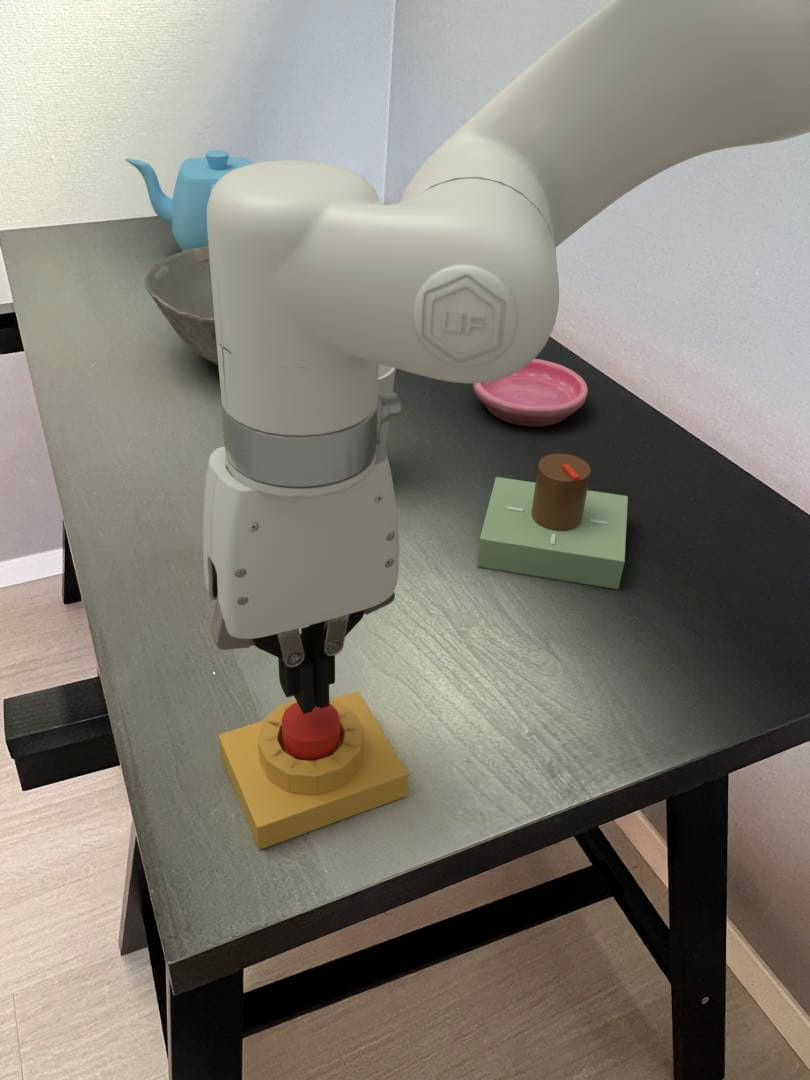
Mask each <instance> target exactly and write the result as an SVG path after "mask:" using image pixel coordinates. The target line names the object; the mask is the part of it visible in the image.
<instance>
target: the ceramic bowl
mask: <svg viewBox="0 0 810 1080" xmlns="http://www.w3.org/2000/svg"><path fill="white" fill-rule="evenodd" d="M144 287H145V289H146V291H147V292H148V293H149V295H150V297H151V298H152V300H153V301H154V302H155V304H156V305H157V307H158V309H159V310H160V312H161V314H162V315H163V316H164V317H165V319H166V320H167V322H169V324H170V326H171V327H172V329H173V331H175V333H176V334H177V335H178V336H179V338H180V339H181V340H182V342H184V343H185V344H186V345H187V346H188V348H190V349H191V350H192V351H193V352H194V353H195V354H197V355H199V356H200V357H202V358H204V359H205V360H207V361H208V362H211V363H213V364H214V365H217V366H218V355H217V343H216V332H215V320H214V307H213V295H212V282H211V270H210V257H209V246H205V247H202V248H196V249H194V248H192V249H188V250H185V251H182V250H181V251H180V252H176V253H175V254H171V255H169V256H168V257H166V258H164V259H162V260H161V261H159V262H157V263H155V264H154V265H152V266H151V268H149V269H148V271H147V272H146V274H145V277H144Z"/></svg>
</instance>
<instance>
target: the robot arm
mask: <svg viewBox="0 0 810 1080" xmlns="http://www.w3.org/2000/svg"><path fill="white" fill-rule="evenodd" d="M809 133H810V0H611V1H609V2H608V3H606V4H605V5H604V6H603V7H601V8H600V9H599V10H598V11H597V12H595V13H594V14H593V15H591V16H590V17H589V18H587V19H586V20H585V21H583V22H582V23H581V24H580V25H578V26H576V28H575V29H573V30H572V31H571V32H570V33H568V34H567V35H565V36H564V37H563V38H562V39H560V40H559V41H558V42H557V43H556V44H554V45H553V46H552V47H551V48H550V49H548V50H547V51H546V52H545V53H544V54H542V55H541V56H540V57H539V58H538V59H536V61H534V62H533V63H532V64H531V65H529V67H527V68H526V69H525V70H524V71H522V73H520V74H519V75H518V76H517V77H516V78H514V79H513V81H511V82H510V83H509V84H508V85H507V86H506V87H505V88H504V89H502V90H501V91H500V92H498V93H497V94H496V95H495V96H494V97H493V98H492V99H491V100H490V101H489V102H488V103H486V104H485V105H484V106H483V107H482V108H481V109H480V110H479V111H478V112H476V113H475V115H473V116H472V117H471V118H470V119H469V120H468V121H466V122H465V123H464V124H463V125H462V126H461V127H460V128H459V129H458V130H456V131H455V132H454V133H453V134H452V135H451V136H450V137H448V139H447V140H445V142H443V143H442V144H441V145H440V146H439V147H438V148H437V149H436V150H435V151H434V152H433V154H431V155H430V156H429V157H428V159H426V160H425V162H423V164H422V165H421V166H420V167H419V169H417V171H416V172H415V174H414V176H413V177H412V178H411V179H410V181H409V183H408V184H407V187H406V188H405V190H404V193H403V195H402V197H401V200H400V202H398V203H394V204H383V203H382V202H381V200H380V197H379V195H378V193H377V191H376V190H375V187H373V185H372V184H371V183H370V181H368V180H367V179H366V178H364V177H363V176H362V175H361V174H359V173H358V172H356V171H353V170H351V169H348V168H345V167H343V166H338V165H336V164H331V163H327V162H321V161H312V160H300V159H299V160H298V159H283V160H268V161H260V162H255V163H253V164H251V165H247V166H244V167H240V168H237V169H235V170H232V171H230V172H229V173H227V174H226V175H224V176H223V177H222V178H221V179H220V180H219V181H218V182H217V183H216V184H215V186H214V187H213V189H212V191H211V194H210V197H209V200H208V205H207V233H208V245H209V257H210V270H211V282H212V295H213V307H214V320H215V332H216V343H217V355H218V365H217V366H218V375H219V376H218V377H219V386H220V387H219V388H220V398H221V402H220V406H221V419H222V430H223V442H224V446H220V447H217V448H215V449H214V450H212V452H211V454H210V455H209V458H208V464H207V469H206V475H205V482H204V491H203V492H204V494H203V512H202V558H203V559H202V560H203V576H204V583H205V588H206V591H207V594H208V597H209V599H210V601H215V600H216V602H215V606H214V611H213V615H212V621H211V626H210V635H211V637H212V639H213V641H214V643H215V645H216V647H217V648H218V649H219V650H220V651H221V650H222V651H227V650H239V649H240V650H241V649H249V648H250V647H254V646H255V647H256V648H257V649H259V650H261V651H263V652H265V653H267V654H269V655H271V656H273V657H276V658H277V661H278V662H277V663H278V679H279V683H280V687H281V689H282V692H283V694H284V696H285V698H290V697H294V700H296V701H297V703H298V705H299V707H300V709H301V710H302V712H303V714H306V713H309V712H312V711H313V709H314V708H315V706H316V707H319V708H320V709H322V708H325V707H328V706H329V699H330V685H333V684H334V685H335V684H336V656H337V655H338V654H340V653H341V652H342V651H343V649H344V646H345V640H346V637H347V636H348V635H349V633H350V632H351V631H352V630H353V629H354V628H355V627H356V626H357V625H358V624H359V622H360V621H362V619H363V618H364V615H366V616H368V615H371V614H372V613H374V612H376V611H378V610H380V609H383V608H385V607H387V606H389V605H390V604H392V603H393V602H394V600H395V599H396V594H395V590H396V588H397V585H398V579H399V569H400V568H399V567H400V539H399V538H400V537H399V520H398V509H397V500H396V494H395V488H394V482H393V476H392V471H391V465H390V459H389V457H388V452H387V447H386V448H385V446H384V444H383V443H382V442H381V440H380V428H381V426H382V424H383V423H386V422H388V420H389V421H390V420H393V419H394V420H395V419H399V418H400V417H401V415H402V405H401V400H400V397H399V395H398V394H397V393H396V392H395V391H393V393H387V394H383V393H382V392H378V374H379V364H382V365H386V366H389V367H393V368H396V370H399V371H402V372H403V371H404V372H407V373H411V374H412V375H413V374H414V375H418V376H421V377H425V378H429V379H433V380H437V381H443V382H447V383H457V384H473V383H483V382H491V381H496V380H499V379H502V378H505V377H508V376H510V375H512V374H514V373H516V372H518V371H519V370H521V369H522V368H524V367H525V366H527V365H528V364H529V363H530V362H531V361H532V360H533V359H536V358H537V357H538V355H540V353H541V352H542V351H543V349H544V348H545V346H546V345H547V343H548V341H549V339H550V337H551V335H552V333H553V331H554V328H555V325H556V321H557V317H558V313H559V304H560V280H559V270H558V261H557V260H558V259H557V252H556V251H557V249H556V248H557V247H559V245H561V244H562V243H563V242H565V241H566V240H567V239H569V238H570V237H571V236H572V235H574V234H575V233H576V232H578V230H579V229H581V228H582V227H584V226H585V225H586V224H588V222H590V221H591V220H592V219H593V218H595V217H596V216H598V215H599V214H601V213H602V212H603V211H604V210H606V208H607V209H608V207H609V206H611V205H612V204H614V203H615V202H617V201H618V200H620V198H622V197H623V196H624V195H626V194H628V193H629V192H631V191H632V190H634V189H635V188H637V187H638V186H640V185H641V184H643V183H645V182H646V181H648V180H650V179H652V178H654V177H655V176H657V175H658V174H660V173H662V172H664V171H666V170H668V169H670V168H672V167H674V166H677V165H678V164H681V163H683V162H686V161H688V160H690V159H693V158H696V157H698V156H702V155H705V154H708V153H712V152H715V151H720V150H725V149H732V148H739V147H746V146H755V145H762V144H763V145H764V144H768V143H775V142H780V141H785V140H788V139H791V138H796V137H800V136H802V135H805V134H809Z"/></svg>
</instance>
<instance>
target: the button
mask: <svg viewBox="0 0 810 1080" xmlns="http://www.w3.org/2000/svg"><path fill="white" fill-rule="evenodd" d="M282 737H283V744H284V747H285V749H286V750H287V751H288V752H289V753H290V754H291V755H293V756H294V757H296V758H299V759H303V760H317V759H321V758H324V757H326V756H328V755H330V754H331V753H332V752H333V751H334V750H335V749H336V748H337V746H338V744H339V741H340V717H339V714H338V712H337V710H336V709H335V708H334V707H333V706H332V705H331V704H329V706H328V707H325V708H322V709H320V708H319V707H316V706H315V708H314V709H313V711H312V712H309V713H306V714H303V712H302V710H301V709H300V707H299V705H298V703H297V702H296V703H294V704H292V705H291V706H290V707H288V708H287V709H286V711H285V712H284V714H283V717H282Z"/></svg>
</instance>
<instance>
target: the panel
mask: <svg viewBox="0 0 810 1080" xmlns="http://www.w3.org/2000/svg"><path fill="white" fill-rule="evenodd" d="M535 483H536V481H535V482H532V481H528V480H527V481H526V480H519V479H515V478H507V477H500V476H496V477H495V479H494V483H493V486H492V491H491V494H490V498H489V502H488V506H487V508H486V513H485V517H484V520H483V524H482V529H481V533H480V534H479V535H480V536H479V539H478V540H479V541H478V550H477V561H476V567H477V568H484V569H489V570H494V571H502V572H508V573H513V574H520V575H526V576H531V577H539V578H543V579H551V580H557V581H564V582H569V583H577V584H582V585H589V586H595V587H600V588H607V589H612V590H619V589H620V586H621V585H620V584H621V581H622V576H623V573H624V572H623V571H624V567H625V562H626V545H627V544H626V543H627V523H628V506H629V505H628V504H629V496H628V495H623V494H616V493H609V492H603V491H602V492H601V491H596V490H595V491H594V490H589V489H588V490H587V496H586V501H585V507H584V512H583V518H582V521H581V523H580V524H579V525H578V526H577V527H575V528H573V529H569V530H553V529H549V528H546V527H543V526H541V525H539V524H538V523H537V522H536V521H535V520H534V519H533V517H532V514H531V511H532V504H533V497H534V490H535Z"/></svg>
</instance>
